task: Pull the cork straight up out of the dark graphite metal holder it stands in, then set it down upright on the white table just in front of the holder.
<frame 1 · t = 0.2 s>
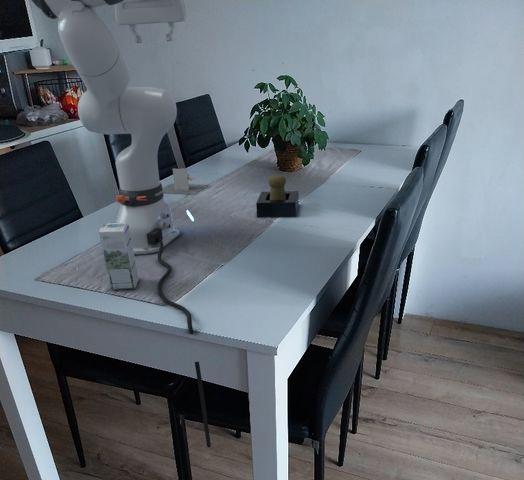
hand: (154, 42, 159), 48 cm above the table, tool pointing down, fingers open, 8 cm apart
syrup box: (125, 285, 129), on the table
architectural model: (183, 189, 199), on the table
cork: (278, 211, 171), resting in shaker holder
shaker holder: (278, 210, 171), on the table
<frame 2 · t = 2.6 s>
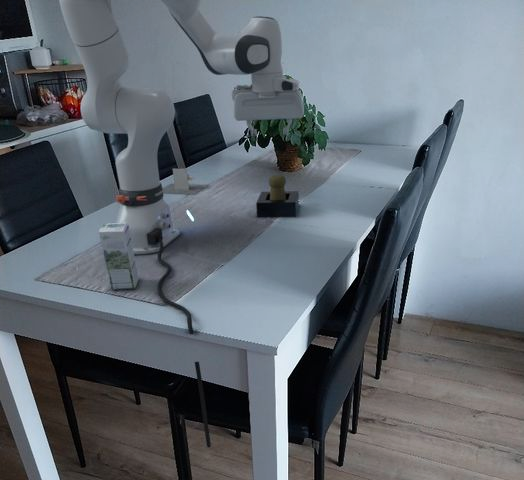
hand: (269, 135, 160), 22 cm above the table, tool pointing down, fingers open, 8 cm apart
nothing on the table moved.
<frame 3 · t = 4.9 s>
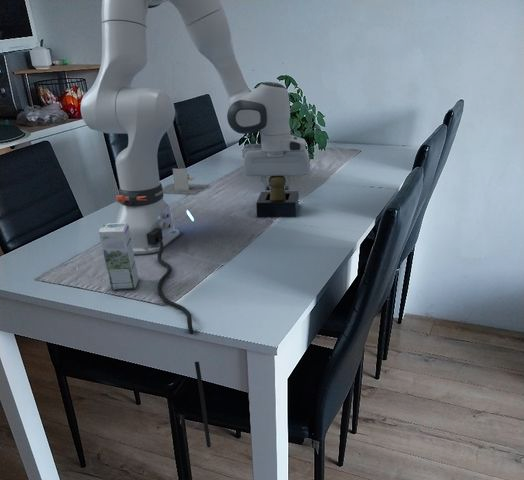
hand: (277, 189, 167), 7 cm above the table, tool pointing down, fingers closed on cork, 5 cm apart
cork: (278, 211, 171), resting in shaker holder, touching gripper
everything else where it was.
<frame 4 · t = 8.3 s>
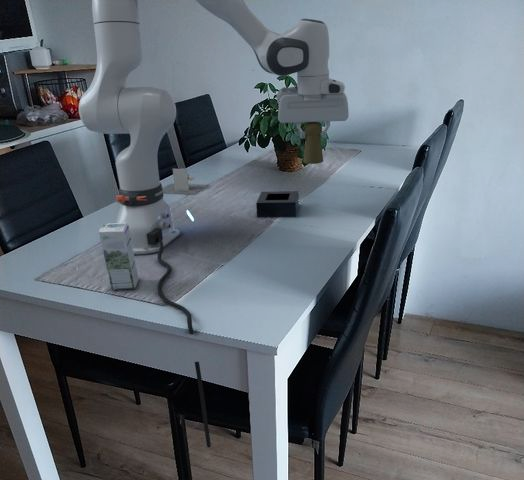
hand: (313, 138, 159), 21 cm above the table, tool pointing down, fingers closed on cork, 5 cm apart
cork: (313, 161, 163), point 14 cm above the table, touching gripper
everything else where it was.
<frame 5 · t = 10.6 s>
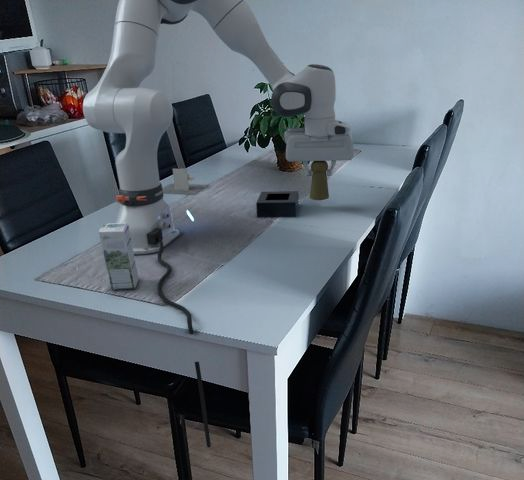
hand: (319, 175, 165), 10 cm above the table, tool pointing down, fingers closed on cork, 5 cm apart
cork: (319, 197, 169), point 4 cm above the table, touching gripper
everything else where it was.
when the fingers open (7 cm above the table, at t = 12.0 s): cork stays where it is, on the table.
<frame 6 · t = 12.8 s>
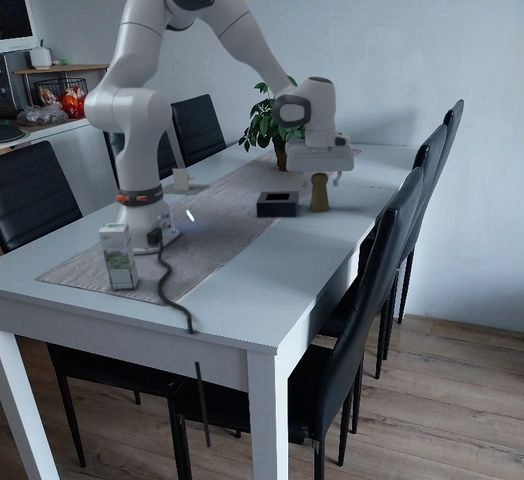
hand: (320, 186, 166), 7 cm above the table, tool pointing down, fingers open, 8 cm apart
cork: (319, 209, 171), on the table
everything else where it was.
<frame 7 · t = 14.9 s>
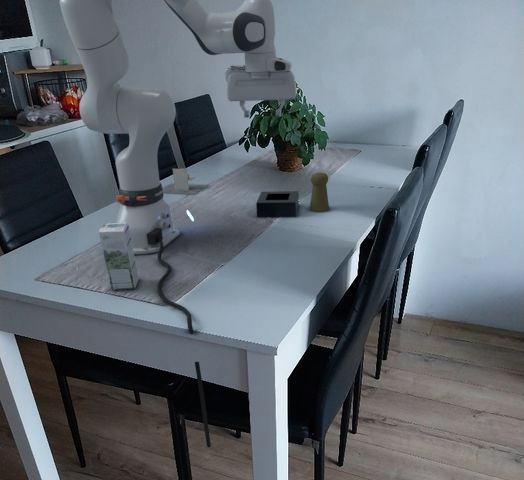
hand: (262, 116, 161), 27 cm above the table, tool pointing down, fingers open, 8 cm apart
nothing on the table moved.
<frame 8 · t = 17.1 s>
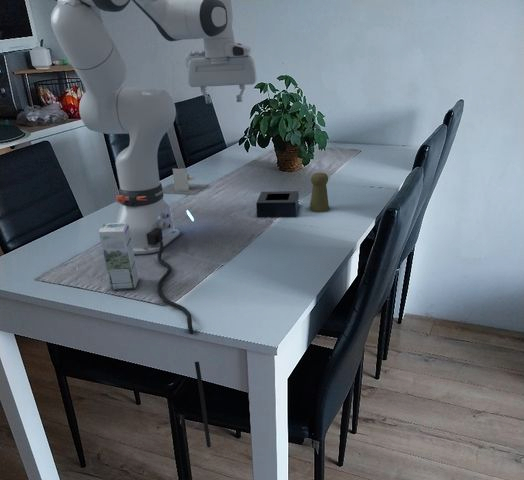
hand: (224, 102, 163), 31 cm above the table, tool pointing down, fingers open, 8 cm apart
nothing on the table moved.
at the end: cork inside the target area (0.5 cm from its centre), on the table; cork tilted 0°; the gripper is holding nothing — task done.
